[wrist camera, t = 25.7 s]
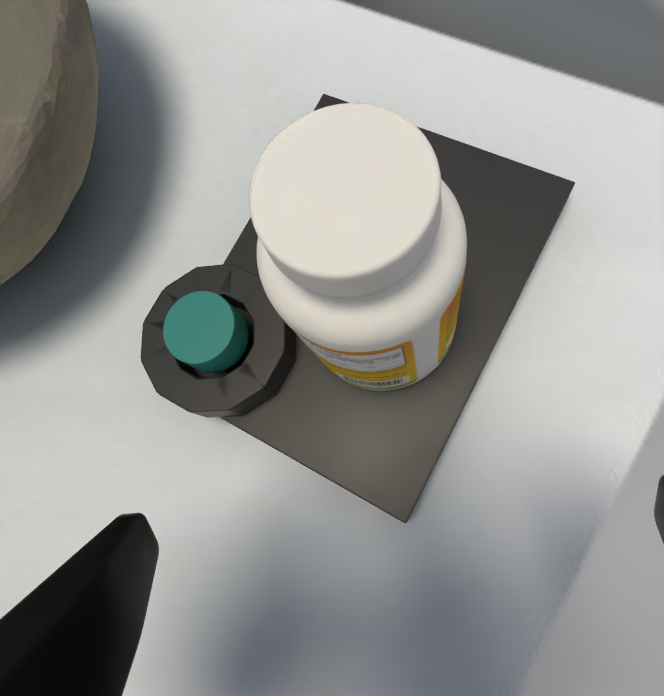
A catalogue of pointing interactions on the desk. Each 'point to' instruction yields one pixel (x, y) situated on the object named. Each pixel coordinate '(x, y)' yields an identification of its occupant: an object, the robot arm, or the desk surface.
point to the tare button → (205, 332)
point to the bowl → (43, 120)
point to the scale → (334, 393)
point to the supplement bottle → (360, 243)
